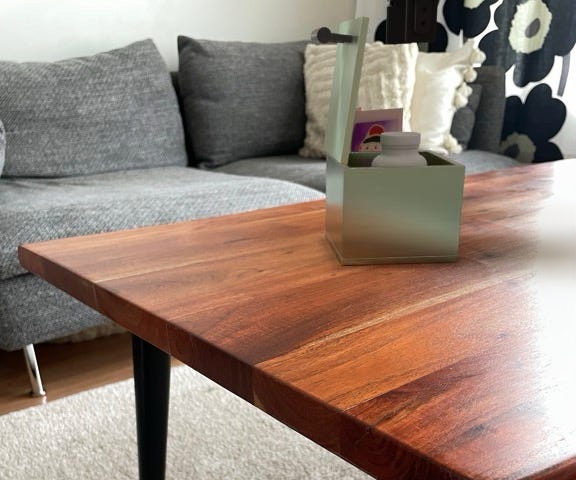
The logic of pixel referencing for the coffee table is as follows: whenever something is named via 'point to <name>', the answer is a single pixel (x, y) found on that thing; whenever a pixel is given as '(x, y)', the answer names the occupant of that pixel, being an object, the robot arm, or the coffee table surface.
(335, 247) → the bin
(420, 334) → the coffee table surface
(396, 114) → the purple cartoon box
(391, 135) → the supplement bottle
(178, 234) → the coffee table surface
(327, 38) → the bin lid
